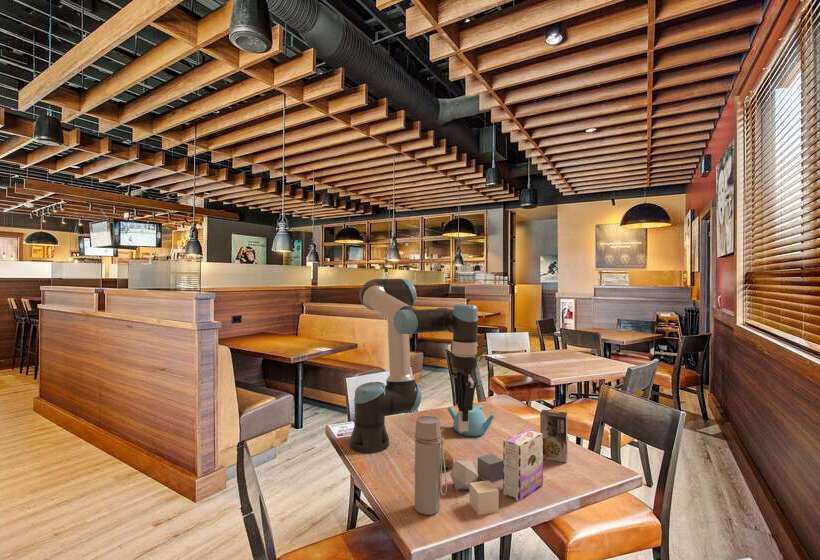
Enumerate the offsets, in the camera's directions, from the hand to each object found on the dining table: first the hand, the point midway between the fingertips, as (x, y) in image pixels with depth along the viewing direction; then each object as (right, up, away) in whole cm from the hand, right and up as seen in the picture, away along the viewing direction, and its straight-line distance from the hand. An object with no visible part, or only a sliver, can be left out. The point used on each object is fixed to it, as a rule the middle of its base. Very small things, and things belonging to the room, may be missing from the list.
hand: (463, 430), depth 127 cm
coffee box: (+36, -18, +21) cm, 45 cm away
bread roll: (-7, -18, +14) cm, 24 cm away
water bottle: (-11, -18, -13) cm, 24 cm away
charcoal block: (+10, -18, +6) cm, 21 cm away
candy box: (+18, -18, -2) cm, 25 cm away
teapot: (+9, -18, +47) cm, 51 cm away
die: (0, -18, 0) cm, 18 cm away
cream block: (+4, -18, -12) cm, 22 cm away
